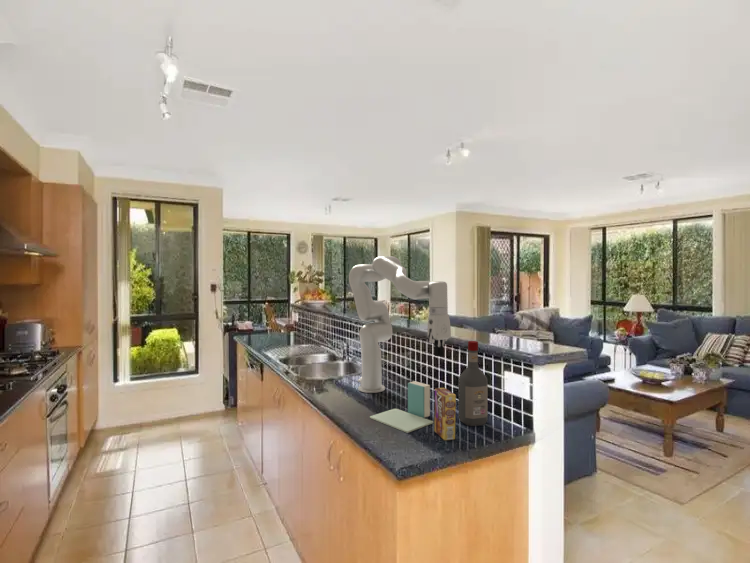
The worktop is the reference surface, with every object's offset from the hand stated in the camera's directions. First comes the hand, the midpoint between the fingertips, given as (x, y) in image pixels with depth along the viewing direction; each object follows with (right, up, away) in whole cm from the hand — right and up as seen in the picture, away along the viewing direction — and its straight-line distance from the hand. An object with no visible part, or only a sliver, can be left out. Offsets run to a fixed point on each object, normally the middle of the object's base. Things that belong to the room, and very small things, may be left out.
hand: (439, 355), depth 169 cm
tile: (-9, -22, -7) cm, 25 cm away
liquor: (+10, -22, -15) cm, 29 cm away
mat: (-17, -22, -14) cm, 31 cm away
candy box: (-2, -22, -28) cm, 36 cm away
